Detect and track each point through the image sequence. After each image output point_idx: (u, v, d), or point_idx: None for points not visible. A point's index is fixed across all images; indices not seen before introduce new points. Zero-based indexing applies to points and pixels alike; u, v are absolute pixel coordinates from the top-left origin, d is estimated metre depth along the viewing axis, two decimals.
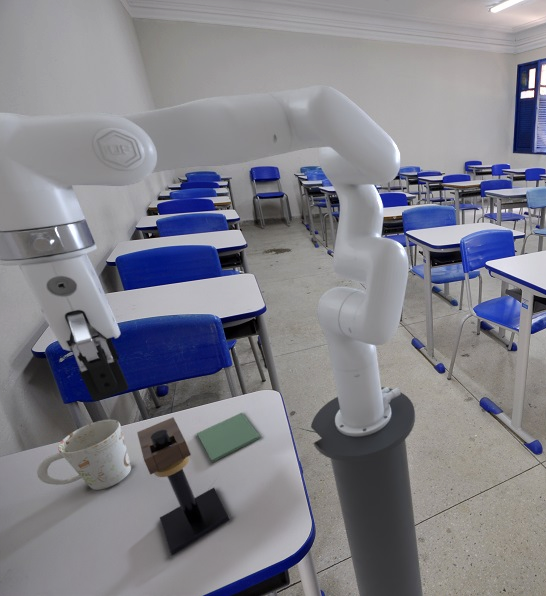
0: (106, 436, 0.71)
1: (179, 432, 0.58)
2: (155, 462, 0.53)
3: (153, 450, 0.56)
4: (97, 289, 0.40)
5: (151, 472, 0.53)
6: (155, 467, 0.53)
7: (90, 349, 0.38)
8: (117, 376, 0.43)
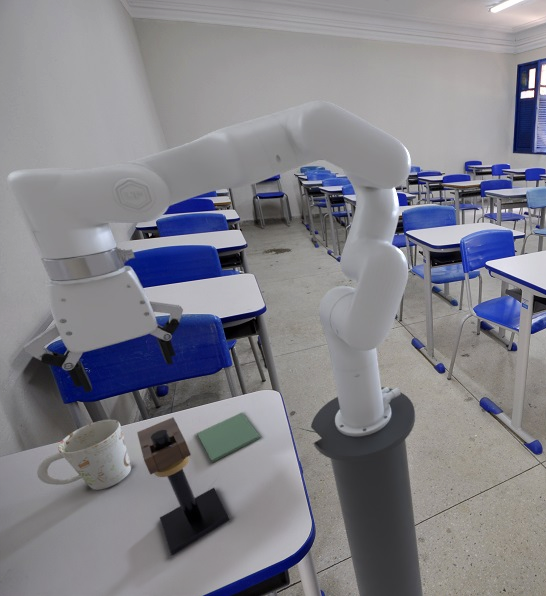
0: (106, 436, 0.71)
1: (179, 432, 0.58)
2: (155, 462, 0.53)
3: (153, 450, 0.56)
4: None
5: (151, 472, 0.53)
6: (155, 467, 0.53)
7: None
8: None
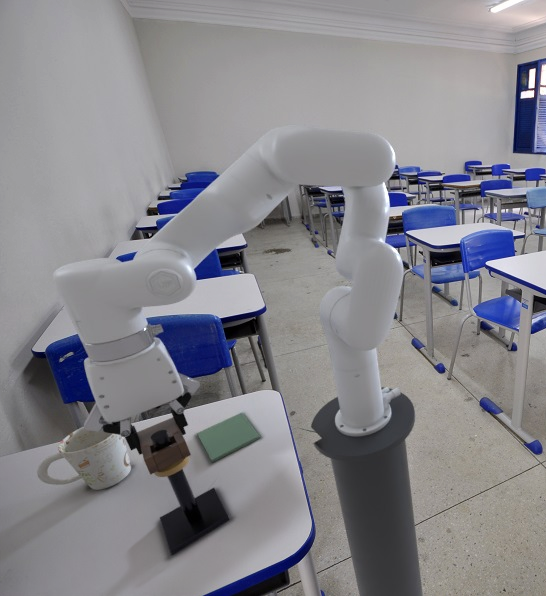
0: (106, 436, 0.71)
1: (179, 432, 0.58)
2: (155, 462, 0.53)
3: (153, 450, 0.56)
4: None
5: (151, 472, 0.53)
6: (155, 467, 0.53)
7: None
8: None
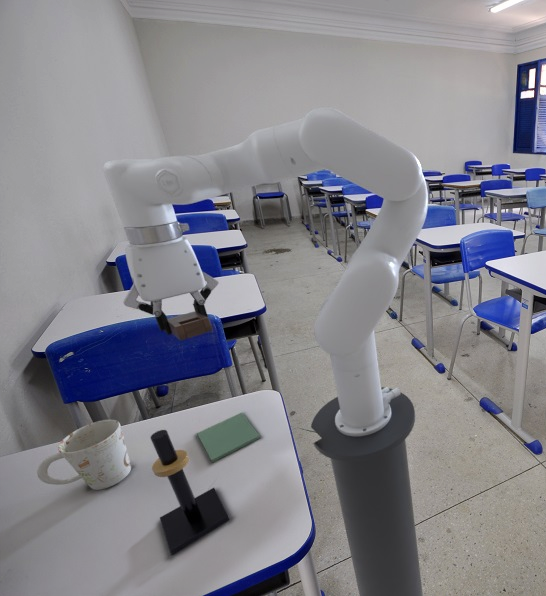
0: (106, 436, 0.71)
1: (202, 315, 0.69)
2: (184, 331, 0.64)
3: None
4: None
5: (181, 338, 0.64)
6: (184, 335, 0.64)
7: None
8: None
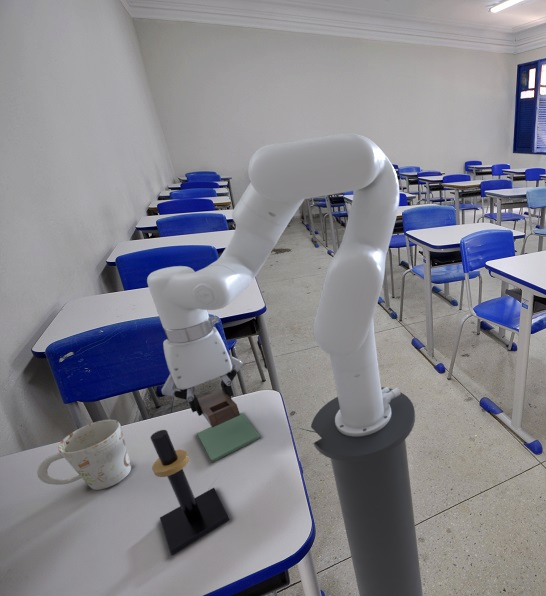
0: (106, 436, 0.71)
1: (230, 398, 0.77)
2: (215, 418, 0.71)
3: (211, 411, 0.74)
4: None
5: (213, 426, 0.71)
6: (215, 422, 0.71)
7: None
8: None
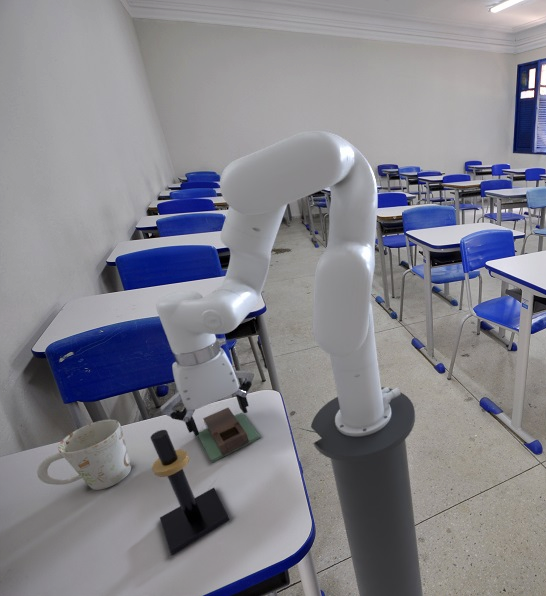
0: (106, 436, 0.71)
1: (238, 423, 0.78)
2: (226, 447, 0.74)
3: (221, 436, 0.76)
4: None
5: (223, 454, 0.74)
6: (225, 450, 0.74)
7: None
8: None
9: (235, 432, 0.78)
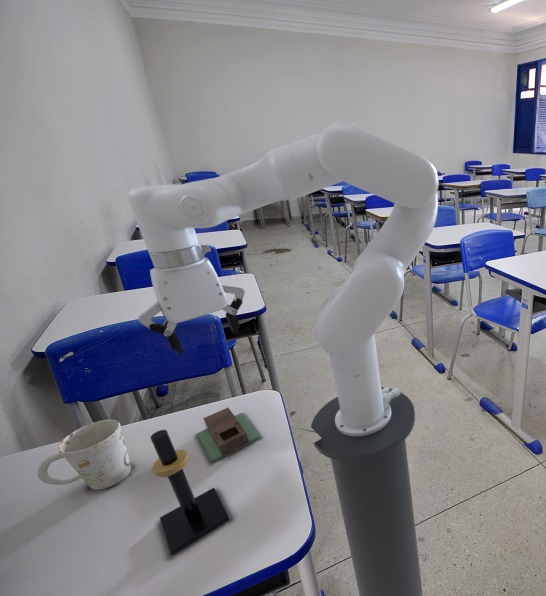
0: (106, 436, 0.71)
1: (238, 423, 0.78)
2: (226, 447, 0.74)
3: (221, 436, 0.76)
4: None
5: (223, 454, 0.74)
6: (225, 450, 0.74)
7: None
8: None
9: (235, 432, 0.78)
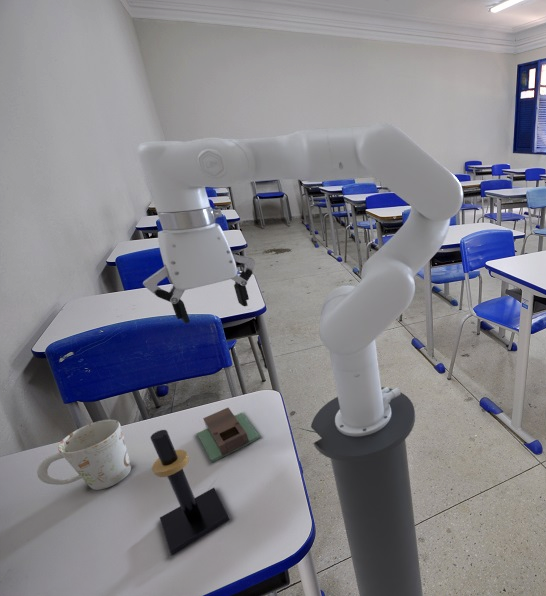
0: (106, 436, 0.71)
1: (238, 423, 0.78)
2: (226, 447, 0.74)
3: (221, 436, 0.76)
4: None
5: (223, 454, 0.74)
6: (225, 450, 0.74)
7: None
8: None
9: (235, 432, 0.78)
